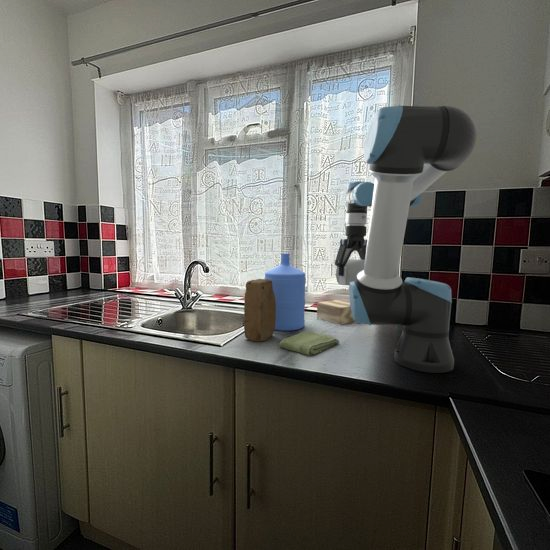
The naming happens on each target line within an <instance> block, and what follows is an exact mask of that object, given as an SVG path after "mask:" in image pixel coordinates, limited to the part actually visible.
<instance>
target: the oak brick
mask: <svg viewBox="0 0 550 550" xmlns="http://www.w3.org/2000/svg"><path fill="white" fill-rule="evenodd" d="M319 318H320V319H319ZM316 319H319V320H322V319H323V320H322V321H326V322H329V323H333V324H336V325H343V324H349V323H353V322H354V323H355V321H354V319H353V317H352V313H351V307H350V301H347V300H341V299H335V300H326V301H325V300H324V301H319V302H317V303H316Z"/></svg>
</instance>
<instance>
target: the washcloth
mask: <svg viewBox="0 0 550 550" xmlns="http://www.w3.org/2000/svg"><path fill="white" fill-rule="evenodd" d="M339 343H340V340H339V339H338V338H336V337H334V336H333V337H332V336H329V335H327V334H324V333H317V332H315V331H313V330H308V331H307V330H306V331H302V332H300V333H297V334H295V335H292V336H288V337H285V338H283V339H282V340H280V343H279V347H280V348H282V349H284V348H285V350H289V351H292V352H297V353H299V354H302V355H305V356H309V355H312V356H314V355H316V354H319V353H321V352H323V351H325V350H327V349H328V348H331V347H333V346H334V345H337V344H339ZM320 351H321V352H320Z"/></svg>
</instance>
